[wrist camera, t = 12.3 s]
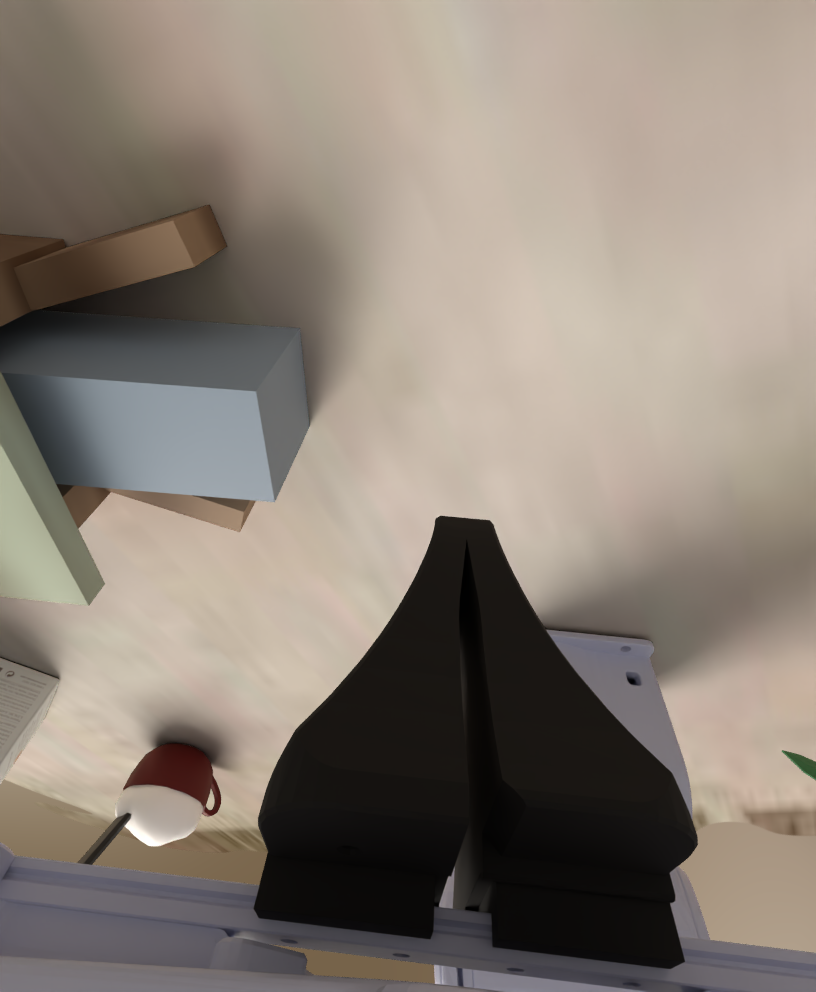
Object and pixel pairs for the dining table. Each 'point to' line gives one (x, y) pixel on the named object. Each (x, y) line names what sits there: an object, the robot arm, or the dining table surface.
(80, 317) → the peg
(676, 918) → the robot arm
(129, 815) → the cocoa
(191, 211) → the awning socket
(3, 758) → the small box
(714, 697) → the dining table surface
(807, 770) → the flower vase
